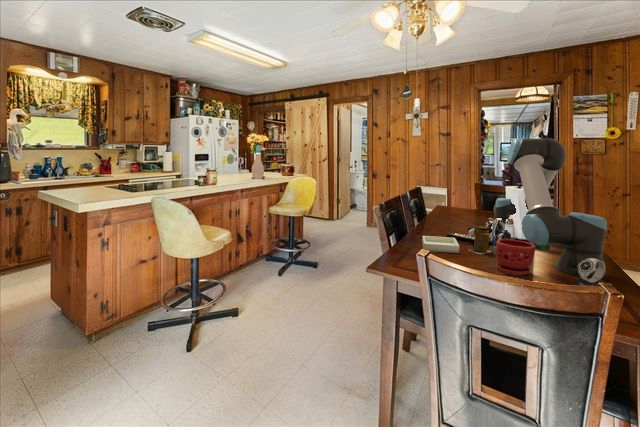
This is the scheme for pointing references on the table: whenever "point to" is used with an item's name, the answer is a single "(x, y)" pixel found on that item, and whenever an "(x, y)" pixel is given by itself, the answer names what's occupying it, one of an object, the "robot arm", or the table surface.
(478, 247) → the condiment
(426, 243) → the pale green square tray
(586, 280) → the watch
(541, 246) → the canned tomato
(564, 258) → the robot arm
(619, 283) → the table surface
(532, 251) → the plant pot
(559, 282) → the table surface
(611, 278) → the table surface
